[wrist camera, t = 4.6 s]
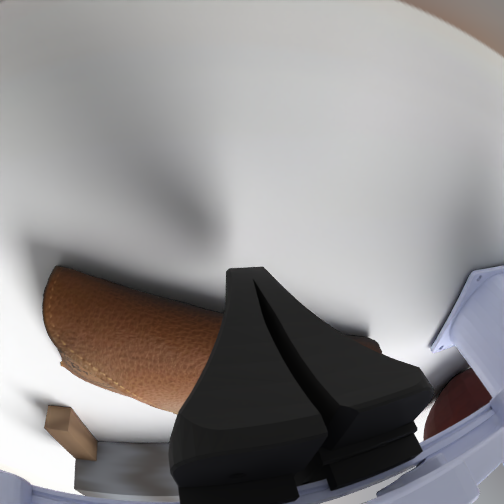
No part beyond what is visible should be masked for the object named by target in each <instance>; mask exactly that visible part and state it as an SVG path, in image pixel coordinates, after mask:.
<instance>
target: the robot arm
mask: <svg viewBox="0 0 504 504" xmlns="http://www.w3.org/2000/svg"><path fill="white" fill-rule="evenodd" d="M452 346H456V348H457V349H458V350H459V352H460V353H461V354H462V356H463V357H464V358H465V360H466V361H467V362H468V364H469V365H470V366H471V368H472V369H473V371H474V372H475V373H476V375H477V376H478V377H479V379H480V380H481V382H482V383H483V385H484V386H485V387H486V389H487V390H488V392H489V393H490V395H491V396H492V399H491V400H490V403H488V404H487V405H485V406H484V407H482V408H481V409H479V410H477V411H476V412H474V413H473V414H471V415H470V416H468V417H466V418H465V419H463V420H461V421H460V422H458V423H456V424H454V425H453V426H451V427H449V428H447V429H446V430H444V431H442V432H440V433H438V434H436V435H434V436H433V437H431V438H429V439H427V440H425V441H423V442H421V443H419V442H418V440H417V438H416V436H415V435H414V433H415V432H416V431H417V427H416V425H415V423H414V420H415V419H416V417H417V416H418V415H419V414H420V413H421V412H422V411H423V410H424V409H425V407H426V406H427V405H428V404H429V402H430V401H431V399H432V397H433V394H434V390H433V388H432V386H431V384H430V383H429V381H428V380H427V378H426V377H425V375H424V374H423V372H422V371H421V369H420V368H419V367H416V366H413V365H410V364H407V363H404V362H401V361H398V360H395V359H393V358H390V357H388V356H385V355H383V354H381V353H378V352H376V351H374V350H372V349H370V348H368V347H365V346H363V345H361V344H360V343H358V342H356V341H354V340H352V339H351V338H349V337H347V336H345V335H344V334H342V333H340V332H339V331H337V330H336V329H334V328H333V327H331V326H330V325H328V324H327V323H325V322H324V321H322V320H321V319H320V318H318V317H317V316H316V315H314V314H313V313H312V312H311V311H310V310H308V309H307V308H306V307H305V306H303V305H302V304H301V303H300V302H299V301H298V300H297V299H295V298H294V297H293V296H292V295H291V294H290V293H289V292H288V291H287V290H286V289H285V288H284V287H283V286H282V285H281V284H280V283H279V282H278V281H277V280H276V279H275V278H274V277H273V276H272V275H271V274H270V273H269V272H268V271H267V270H266V269H265V268H264V267H248V268H230V269H228V270H227V271H226V300H225V311H224V315H223V319H222V323H221V326H220V330H219V333H218V336H217V339H216V341H215V344H214V347H213V349H212V351H211V354H210V356H209V359H208V361H207V363H206V365H205V367H204V369H203V371H202V373H201V375H200V377H199V379H198V381H197V382H196V384H195V386H194V388H193V390H192V391H191V393H190V394H189V396H188V398H187V399H186V401H185V402H184V404H183V405H182V407H181V408H180V410H179V412H178V415H177V418H176V421H175V424H174V427H173V431H172V434H171V438H170V442H169V449H168V458H169V467H170V474H171V475H172V477H173V479H174V481H175V482H176V484H177V485H178V492H179V499H180V502H145V501H126V500H114V499H105V498H96V497H89V496H82V495H76V494H70V493H65V492H60V491H55V490H51V489H46V488H42V487H38V486H34V485H31V484H30V483H29V482H28V481H26V480H25V479H23V478H21V477H19V476H17V475H15V474H12V473H9V472H6V471H3V470H0V504H320V503H323V502H326V501H330V500H333V499H336V498H339V497H342V496H345V495H348V494H351V493H354V492H357V491H359V490H362V489H364V488H367V487H370V486H372V485H375V484H377V483H380V482H382V481H384V480H387V479H389V478H391V477H393V476H396V475H398V474H400V473H402V472H404V471H406V470H408V469H410V468H413V467H414V466H416V468H414V469H412V470H411V471H409V472H407V473H405V474H403V475H402V476H401V477H400V478H399V479H397V480H396V481H395V482H393V483H391V484H390V485H388V486H387V487H385V488H383V489H381V490H380V491H378V492H377V494H376V495H377V498H375V499H372V500H370V501H367V502H365V503H362V504H472V503H473V502H474V501H475V500H477V498H478V497H479V494H480V490H479V488H478V486H477V485H478V484H479V483H481V482H482V481H483V480H484V479H485V478H486V477H487V476H488V475H489V474H490V473H491V472H492V471H493V470H495V468H497V467H498V466H499V465H500V463H502V464H503V466H504V265H503V266H498V267H492V268H486V269H480V270H475V271H473V272H472V273H471V274H470V275H469V277H468V279H467V281H466V284H465V286H464V288H463V290H462V292H461V294H460V296H459V298H458V300H457V302H456V304H455V306H454V308H453V310H452V312H451V313H450V315H449V317H448V319H447V321H446V323H445V324H444V326H443V328H442V330H441V331H440V333H439V335H438V337H437V338H436V340H435V342H434V343H433V345H432V347H431V351H432V353H436V352H439V351H441V350H444V349H447V348H450V347H452Z"/></svg>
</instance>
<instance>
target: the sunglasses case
mask: <svg viewBox="0 0 504 504" xmlns="http://www.w3.org/2000/svg"><path fill="white" fill-rule="evenodd" d="M42 309H43V320H44V324H45V327H46V330H47V333H48V336H49V337H50V339H51V341H52V342H53V343H54V345H55V346H56V347H57V348H58V351H59V353H60V355H61V358H62V362H60V363H61V366H63V367H65V368H66V369H67V370H69V371H70V372H71V373H72V374H74V375H75V376H77V377H79V378H81V379H83V380H84V381H86V382H89V383H91V384H94V385H96V386H99V387H101V388H104V389H107V390H109V391H112V392H115V393H119V394H122V395H125V396H128V397H132V398H134V399H136V400H138V401H140V402H143V403H146V404H148V405H150V406H153V407H155V408H158V409H161V410H166V411H169V412H173V413H174V414H177V415H178V412H179V410H180V408H181V407H182V405H183V404H184V402H185V401H186V399H187V398H188V396H189V394H190V393H191V391H192V390H193V388H194V386H195V384H196V382H197V381H198V379H199V377H200V375H201V373H202V371H203V369H204V367H205V365H206V363H207V361H208V359H209V356H210V354H211V351H212V349H213V347H214V344H215V341H216V339H217V336H218V333H219V330H220V326H221V323H222V319H223V315H224V313H220V312H215V311H211V310H206V309H203V308H200V307H196V306H193V305H189V304H185V303H182V302H178V301H174V300H170V299H167V298H163V297H159V296H156V295H152V294H148V293H145V292H141V291H138V290H134V289H131V288H128V287H125V286H122V285H119V284H116V283H113V282H110V281H107V280H104V279H101V278H97V277H94V276H90V275H87V274H84V273H82V272H79V271H76V270H74V269H70V268H65V267H60V266H55V267H54V269H53V271H52V273H51V275H50V277H49V279H48V282H47V285H46V287H45V290H44V294H43V304H42ZM345 336H347V337H349V338H351V339H352V340H354V341H356V342H358V343H360V344H361V345H363V346H365V347H368V348H370V349H372V350H374V351H376V352H378V353H381V354H382V351H381V349H380V347H379V344H378V343H377V342H376V341H375V340H372V339H370V338H367V337H362V336H353V335H345Z"/></svg>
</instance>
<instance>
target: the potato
mask: <svg viewBox="0 0 504 504" xmlns="http://www.w3.org/2000/svg"><path fill="white" fill-rule="evenodd" d="M491 399H492V396H491V395H490V393H489V392H488V390H487V389H486V387H485V386H484V385H483V383H482V382H481V380H480V379H479V377H478V376H477V375H476V373H475V372H474V371H473V369H472V368H469V369H468V370H466V371H464V372H462V373H460V374H458V375H456V376H455V377H454V378H452V380H451V381H450V382H449V383H448V384H447V385H446V387H445V388H444V389H443V390H442V392H441V393H440V395H439V396H438V398H437V400H436V401H435V403H434V405H433V406H432V408H431V410H430V413H429V415H428V417H427V420H426V423H425V428H424V441H425V440H427V439H429V438H431V437H433V436H434V435H436V434H438V433H440V432H442V431H444V430H446V429H447V428H449V427H451V426H453V425H454V424H456V423H458V422H460V421H461V420H463V419H465V418H466V417H468V416H470V415H471V414H473V413H474V412H476V411H477V410H479V409H481V408H482V407H484V406H485V405H487V404H488V403H490V400H491Z"/></svg>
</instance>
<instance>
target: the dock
mask: <svg viewBox="0 0 504 504" xmlns="http://www.w3.org/2000/svg"><path fill="white" fill-rule="evenodd" d="M44 428H45V429H46V430H47V431H48V432H49V433H50V434H51V435H52V436H53V438H54V439H55V440H56V441H57V442H59V443H60V444H61V445H62V446H63V447H64V448H65V449H66V450H67V451H68V452H69V453H70V454H71V455H72V456H73V457H74V458H75V459H76V462H75V480H74V489H75V490H77V491H78V492H80V493H82V494H83V495H85V496H89V497H96V498H105V499H114V500H126V501H145V502H180V499H179V492H178V485H177V484H176V482H175V481H174V479H173V477H172V475H171V474H170V467H169V458H168V449H169V443H116V442H100V441H97V440H96V439H95V438H94V436H93V435H92V434H91V433H90V431H89V430H88V429H87V428H86V426H85V425H84V424H83V423H82V421H81V420H80V419H79V417H78V416H77V415H76V413H75V412H74V411H73V409H72V408H69V407H59V406H50V405H48V410H47V415H46V421H45V427H44Z"/></svg>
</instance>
